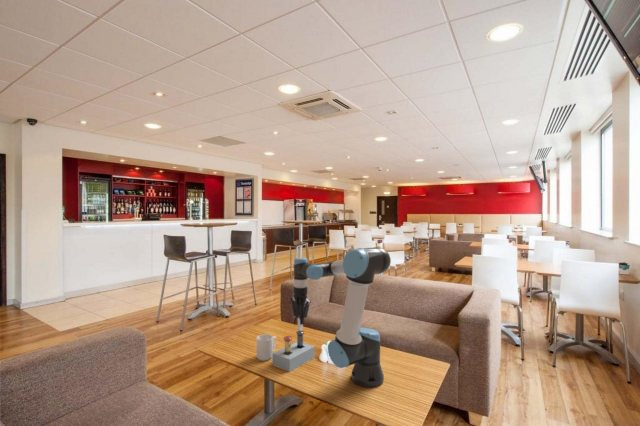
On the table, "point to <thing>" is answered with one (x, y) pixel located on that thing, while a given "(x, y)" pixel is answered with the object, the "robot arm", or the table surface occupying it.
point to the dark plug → (300, 339)
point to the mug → (265, 347)
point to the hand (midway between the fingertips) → (300, 329)
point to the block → (293, 357)
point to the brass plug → (287, 344)
